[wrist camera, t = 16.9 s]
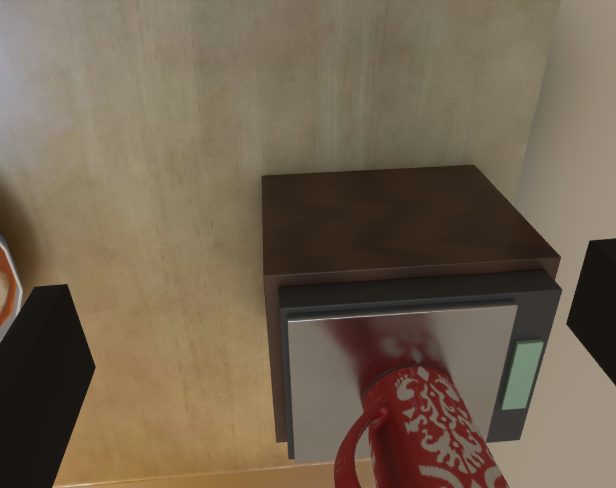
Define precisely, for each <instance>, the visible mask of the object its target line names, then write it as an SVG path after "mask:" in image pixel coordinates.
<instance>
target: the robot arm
mask: <svg viewBox="0 0 616 488" xmlns="http://www.w3.org/2000/svg"><path fill="white" fill-rule="evenodd" d="M566 324H567V326H568V327H569V328H570V329H571V331H572V332H573V333H574V334H575V336H576V337H577V338H578V339H579V341H580V342H581V343H582V344H583V346H584V347H585V348H586V349H587V351H588V352H589V353H590V354H591V356H592V357H593V358H594V359H595V361H596V362H597V363H598V364H599V366H600V367H601V368H602V369H603V371H604V372H605V373H606V374H607V375H608V377H609V378H610V379H611V380H612V382H613V383H614V384H615V386H616V239H604V240H592V241H589V245H588V248H587V251H586V255H585V259H584V262H583V266H582V269H581V273H580V277H579V280H578V284H577V288H576V291H575V295H574V298H573V302H572V305H571V309H570V312H569V316H568V319H567V323H566ZM95 368H96V367H95V364H94V361H93V358H92V355H91V352H90V349H89V346H88V343H87V341H86V338H85V335H84V332H83V329H82V326H81V323H80V320H79V317H78V314H77V311H76V309H75V306H74V303H73V300H72V297H71V294H70V291H69V288H68V285H67V284H63V285H51V286H39V287H34V289H33V290H32V292H31V294H30V295H29V297H28V299H27V300H26V302H25V303H24V305H23V307H22V308H21V310H20V312H19V313H18V315H17V316H16V318H15V320H14V321H13V323H12V324H11V326H10V328H9V329H8V331H7V333H6V334H5V336H4V337H3V339H2V341H1V342H0V488H52V487H53V484H54V481H55V478H56V476H57V473H58V470H59V467H60V465H61V462H62V459H63V456H64V454H65V451H66V448H67V445H68V443H69V440H70V437H71V434H72V432H73V429H74V426H75V423H76V420H77V418H78V415H79V412H80V409H81V407H82V404H83V401H84V398H85V396H86V393H87V390H88V387H89V385H90V382H91V379H92V376H93V374H94V371H95Z"/></svg>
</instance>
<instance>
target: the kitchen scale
mask: <svg viewBox="0 0 616 488" xmlns="http://www.w3.org/2000/svg"><path fill="white" fill-rule="evenodd" d="M561 293H562V289H561V287H560V286H559V285H558V284H557V283H556V282H555V280H554V279H553V278H552V277H551V276H550V275H549V273H548V272H547V271H546V270H534V271H518V272H503V273H488V274H472V275H457V276H441V277H426V278H411V279H395V280H380V281H365V282H349V283H334V284H319V285H303V286H288V287H279V288H278V295H279V312H280V328H281V344H282V361H283V377H284V393H285V410H286V426H287V442H288V458H289V459H295V464H299V463H311V462H322V461H334V460H336V456H337V453H338V450H339V447H340V445H341V443H342V441H343V439H344V438H345V436H346V434H347V433H348V432H349V430H350V428H351V427H352V426H353V425H354V423H355V422H356V421H357V420H358V418H359V417H360V416H361V415H362V414H363V401H364V398H365V396H366V393H367V392H368V390H369V389H370V387H371V386H372V385H373V384H374V383H375V382H376V381H377V380H379V379H380V378H381V377H383V376H385V375H386V374H388V373H390V372H393V371H395V370H398V369H401V368H406V367H414V366H422V367H429V368H434V369H437V370H439V371H441V372H443V373H444V374H446V375H447V376H449V378H450V379H451V380H452V381H453V383H454V384H455V386H456V388H457V389H458V391H459V393H460V395H461V397H462V399H463V401H464V403H465V405H466V407H467V409H468V411H469V413H470V415H471V417H472V419H473V421H474V422H475V424H476V426H477V428H478V430H479V432H480V434H481V435H482V437H483V439H484V441H485V443H489V442H501V441H513V440H519V439H520V437H521V434H522V430H523V427H524V423H525V420H526V416H527V413H528V409H529V406H530V402H531V399H532V395H533V391H534V388H535V384H536V380H537V377H538V374H539V370H540V367H541V363H542V360H543V356H544V353H545V349H546V345H547V342H548V339H549V335H550V332H551V328H552V324H553V321H554V318H555V314H556V310H557V307H558V303H559V300H560V296H561ZM369 457H371V453H370V447H369V441H368V435H367V431H366V430H365V431H364V432H363V434H362V436H361V437H360V439H359V441H358V443H357V446H356V450H355V457H354V459H357V458H369Z"/></svg>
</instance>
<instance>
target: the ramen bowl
mask: <svg viewBox="0 0 616 488" xmlns="http://www.w3.org/2000/svg"><path fill="white" fill-rule="evenodd" d="M22 294H23V288H22V282H21V279H20V276H19V273H18V271H17V268H16V266H15V263H14V260H13V258H12V255H11V253H10V250H9V248H8V245H7V243H6V241H5V239H4V237H3V236H2V235H1V234H0V342H1V341H2V339H3V337H4V336H5V334H6V333H7V331H8V329H9V328H10V326H11V324H12V323H13V321H14V320H15V318H16V316H17V315H18V313H19V312H20V307H21V300H22Z"/></svg>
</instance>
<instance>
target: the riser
mask: <svg viewBox="0 0 616 488" xmlns="http://www.w3.org/2000/svg"><path fill="white" fill-rule="evenodd" d="M262 224H263V278H264V291H265V304H266V317H267V329H268V342H269V355H270V368H271V381H272V393H273V406H274V419H275V432H276V442H277V443H279V442H287V426H286V410H285V393H284V377H283V361H282V344H281V328H280V312H279V295H278V288H279V287H288V286H303V285H319V284H334V283H349V282H365V281H380V280H395V279H411V278H426V277H441V276H457V275H472V274H488V273H503V272H518V271H534V270H546V271H547V272H548V273H549V275H550V276H551V277H552V278H553V279H554V280H555V278H556V274H557V271H558V267H559V263H560V259H561V256H560V255H559V254H558V253H557V252H556V251H555V250H554V249H553V248H552V247H551V246H550V245H549V244H548V243H547V242H546V241H545V239H544V238H542V236H541V235H540V234H539V233H538V232H537V231H536V230H535V229H534V228H533V227H532V226H531V225H530V224H529V223H528V222H527V220H526V219H525V218H524V217H523V216H522V215H521V214H520V213H519V212H518V211H517V210H516V209H515V208H514V207H513V206H512V204H511V203H510V202H509V201H508V200H507V199H506V198H505V197H504V196H503V195H502V194H501V193H500V192H499V191H498V190H497V189H496V187H495V186H494V185H493V184H492V183H491V182H490V181H489V180H488V179H487V178H486V177H485V176H484V175H483V174H482V173H481V172H480V171H479V169H478V168H477V167H476V166H475V165H465V166H445V167H426V168H407V169H388V170H369V171H349V172H330V173H311V174H292V175H272V176H262Z"/></svg>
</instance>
